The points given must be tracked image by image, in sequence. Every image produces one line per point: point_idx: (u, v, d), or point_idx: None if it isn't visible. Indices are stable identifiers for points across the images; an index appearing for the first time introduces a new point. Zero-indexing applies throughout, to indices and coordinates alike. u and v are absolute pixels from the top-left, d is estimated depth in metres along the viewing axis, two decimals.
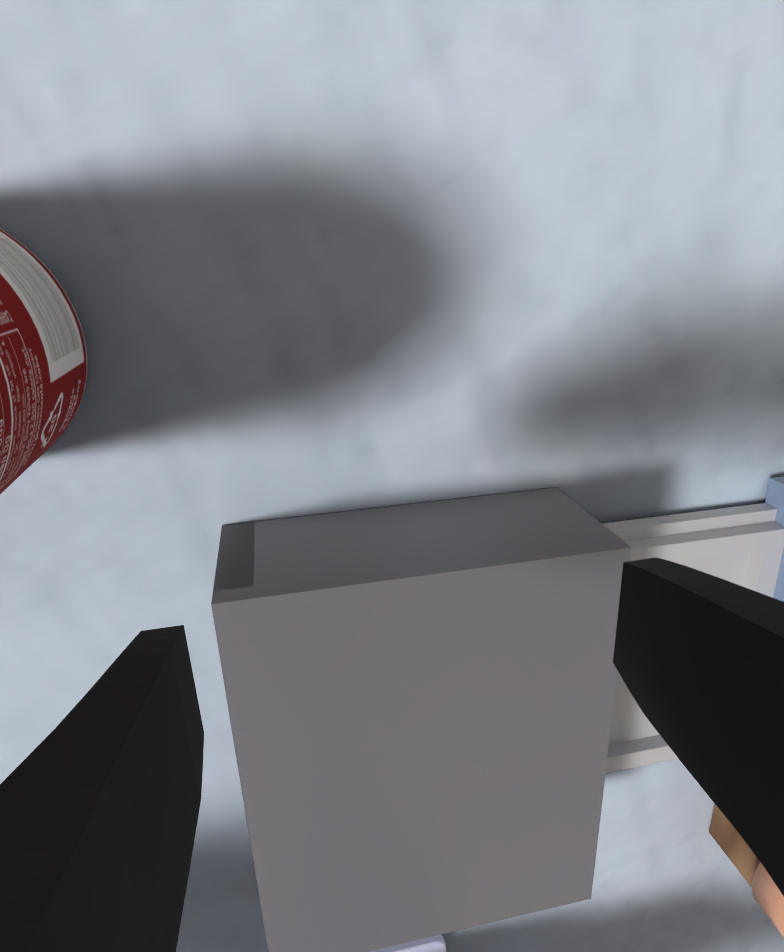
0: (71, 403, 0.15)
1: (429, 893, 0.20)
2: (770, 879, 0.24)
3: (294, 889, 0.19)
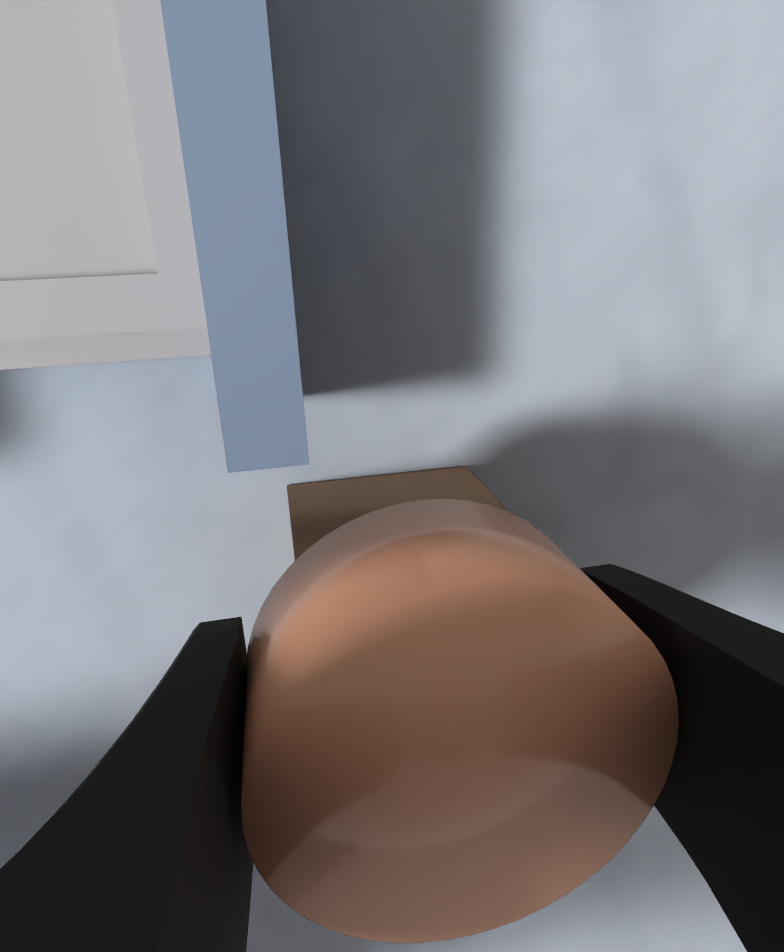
0: None
1: None
2: (247, 671, 0.08)
3: None
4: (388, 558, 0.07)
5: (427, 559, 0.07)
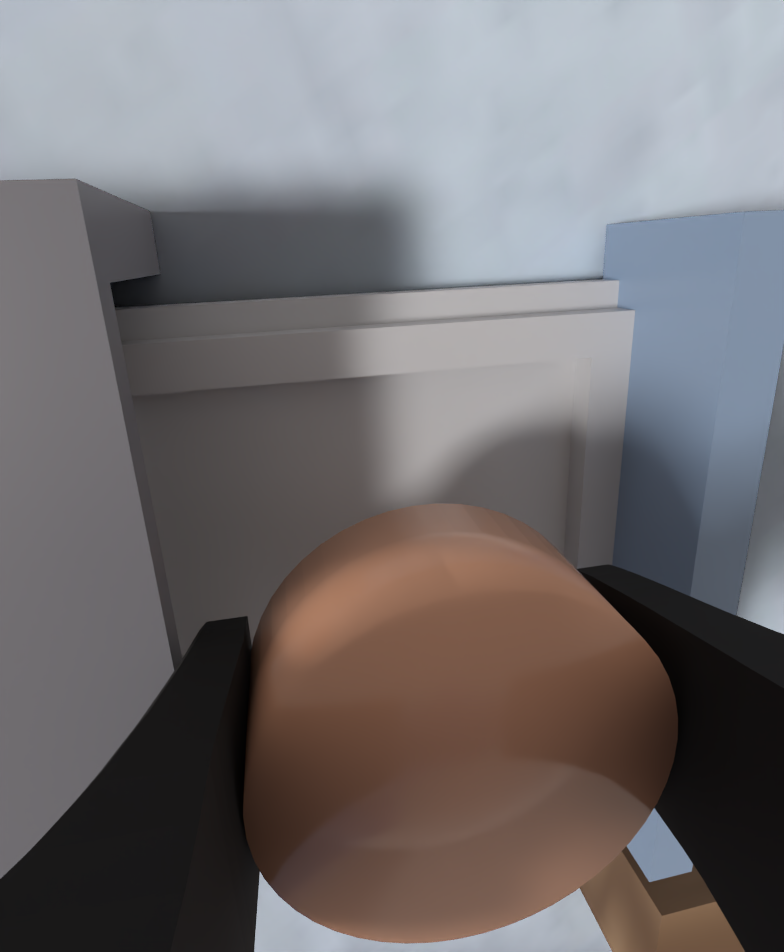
0: None
1: None
2: None
3: None
4: (378, 567, 0.07)
5: (416, 567, 0.07)
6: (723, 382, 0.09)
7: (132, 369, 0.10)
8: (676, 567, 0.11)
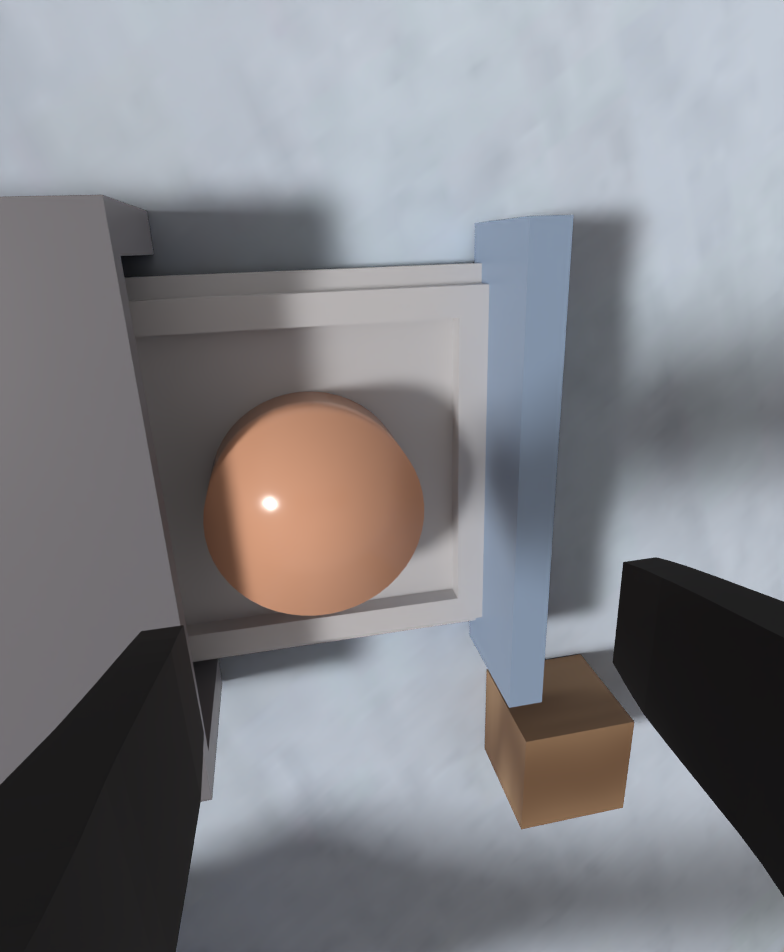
0: None
1: None
2: None
3: None
4: (273, 411, 0.15)
5: (289, 409, 0.15)
6: (526, 330, 0.14)
7: (132, 318, 0.14)
8: (512, 464, 0.15)
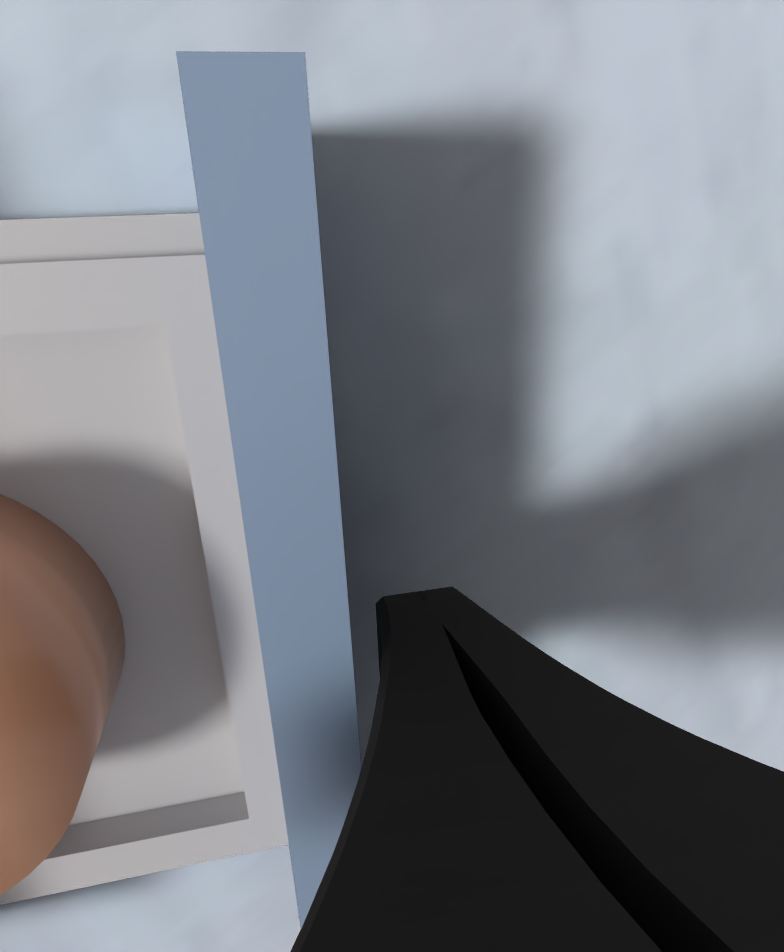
0: None
1: None
2: None
3: None
4: None
5: None
6: (224, 357, 0.06)
7: None
8: None
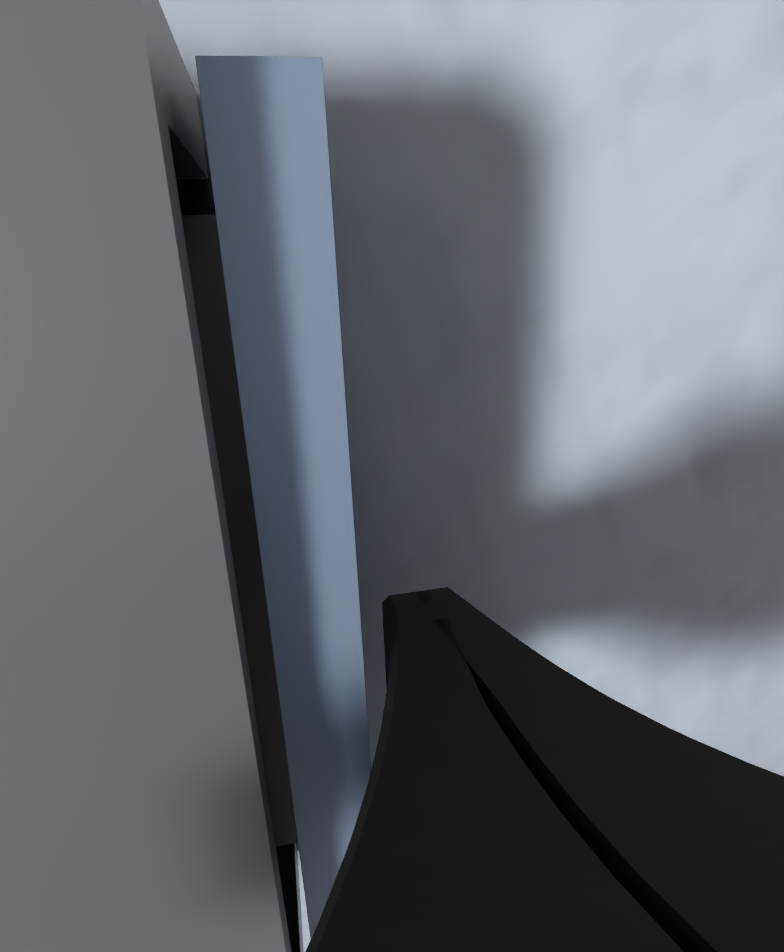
0: None
1: None
2: None
3: None
4: None
5: None
6: (238, 357, 0.06)
7: None
8: None
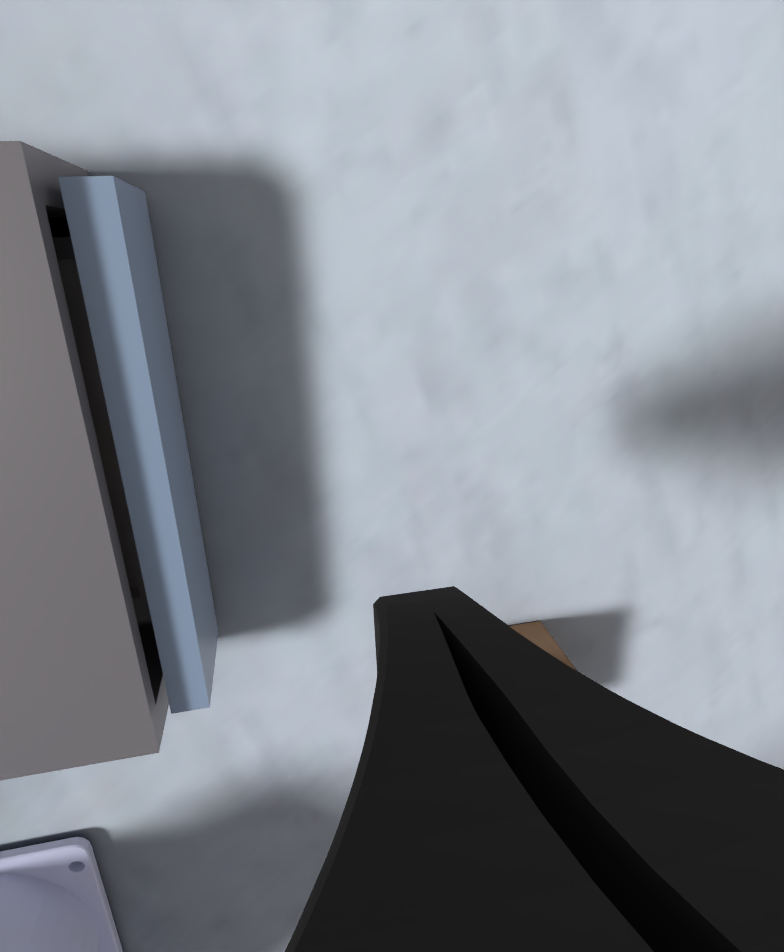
0: None
1: None
2: None
3: None
4: None
5: None
6: (87, 304, 0.13)
7: None
8: None
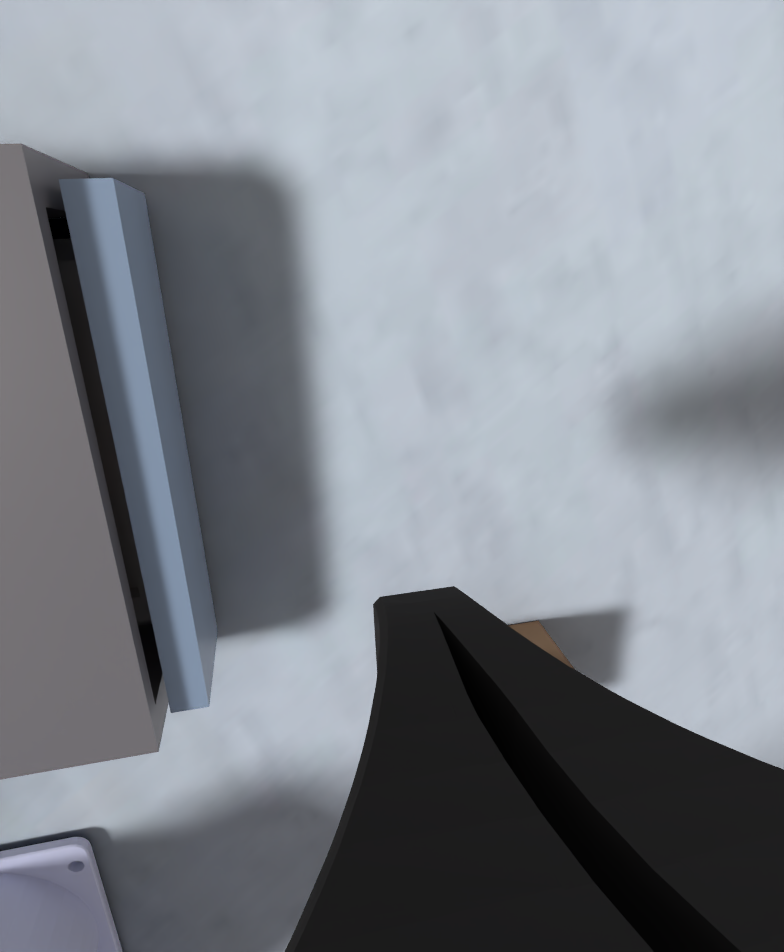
0: None
1: None
2: None
3: None
4: None
5: None
6: (87, 305, 0.13)
7: None
8: None
